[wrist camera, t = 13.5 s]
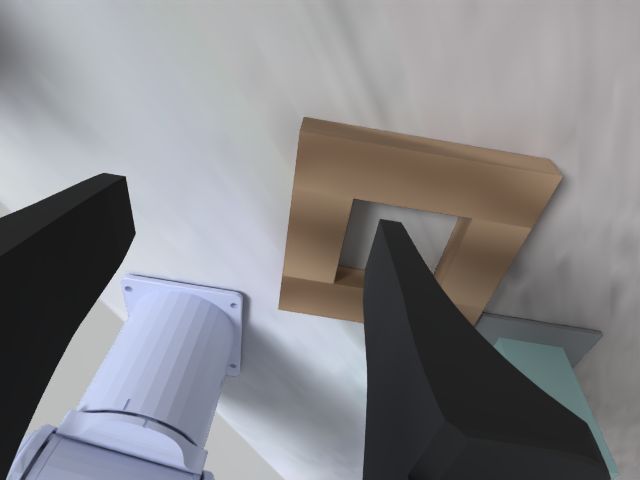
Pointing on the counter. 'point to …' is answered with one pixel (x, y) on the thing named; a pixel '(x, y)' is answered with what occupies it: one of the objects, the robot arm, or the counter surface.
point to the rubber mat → (538, 334)
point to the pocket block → (412, 192)
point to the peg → (555, 382)
